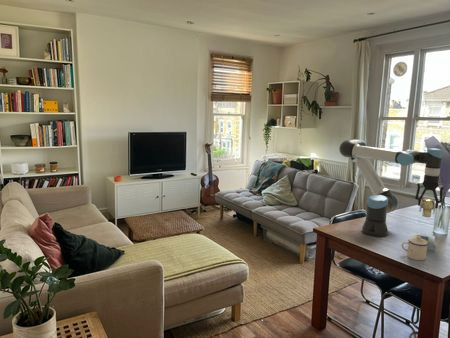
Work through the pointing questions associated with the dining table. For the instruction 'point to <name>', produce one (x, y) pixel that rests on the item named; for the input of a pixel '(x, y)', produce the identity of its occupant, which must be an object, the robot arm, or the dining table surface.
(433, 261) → the dining table surface
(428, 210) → the gold cylinder
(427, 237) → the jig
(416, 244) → the teacup with lid
